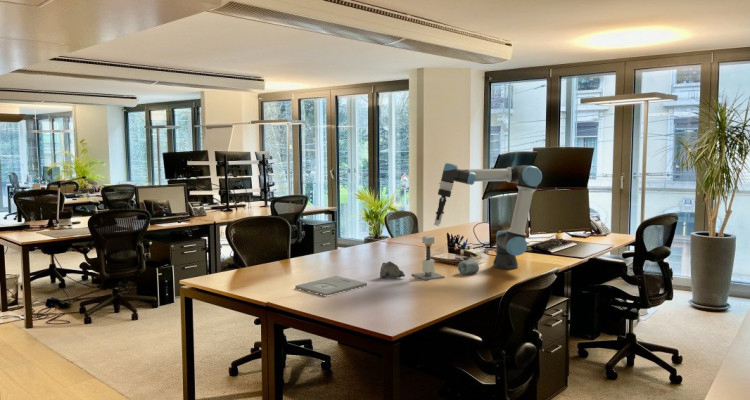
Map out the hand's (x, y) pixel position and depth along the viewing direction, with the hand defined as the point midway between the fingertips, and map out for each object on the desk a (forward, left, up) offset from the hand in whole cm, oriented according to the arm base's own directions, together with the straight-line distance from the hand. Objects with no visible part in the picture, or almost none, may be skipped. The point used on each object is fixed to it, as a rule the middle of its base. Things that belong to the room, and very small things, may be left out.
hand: (437, 224), depth 334 cm
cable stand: (+1, +8, -30) cm, 31 cm away
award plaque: (+32, +59, -30) cm, 74 cm away
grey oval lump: (-15, -12, -30) cm, 36 cm away
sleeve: (+1, +8, -27) cm, 28 cm away
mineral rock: (+16, +24, -30) cm, 42 cm away
